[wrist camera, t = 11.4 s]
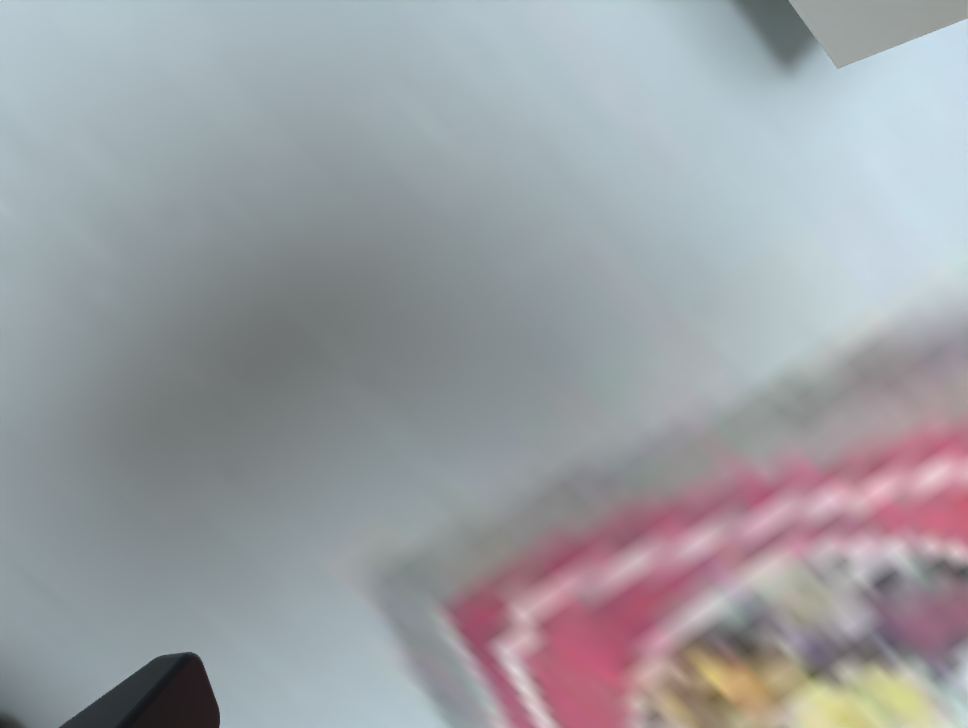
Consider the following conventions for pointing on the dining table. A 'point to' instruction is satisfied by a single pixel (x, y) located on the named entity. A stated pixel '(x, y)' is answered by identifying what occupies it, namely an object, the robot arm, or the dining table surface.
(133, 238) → the dining table surface
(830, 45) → the block
